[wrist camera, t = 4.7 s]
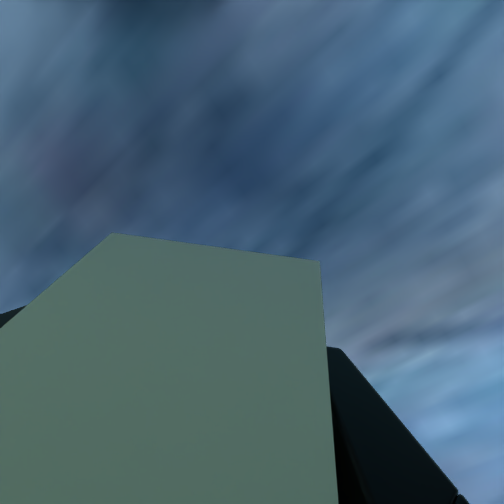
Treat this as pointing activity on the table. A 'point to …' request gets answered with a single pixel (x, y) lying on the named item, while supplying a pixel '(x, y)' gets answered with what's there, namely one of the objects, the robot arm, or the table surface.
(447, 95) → the table surface
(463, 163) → the table surface
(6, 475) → the domino
